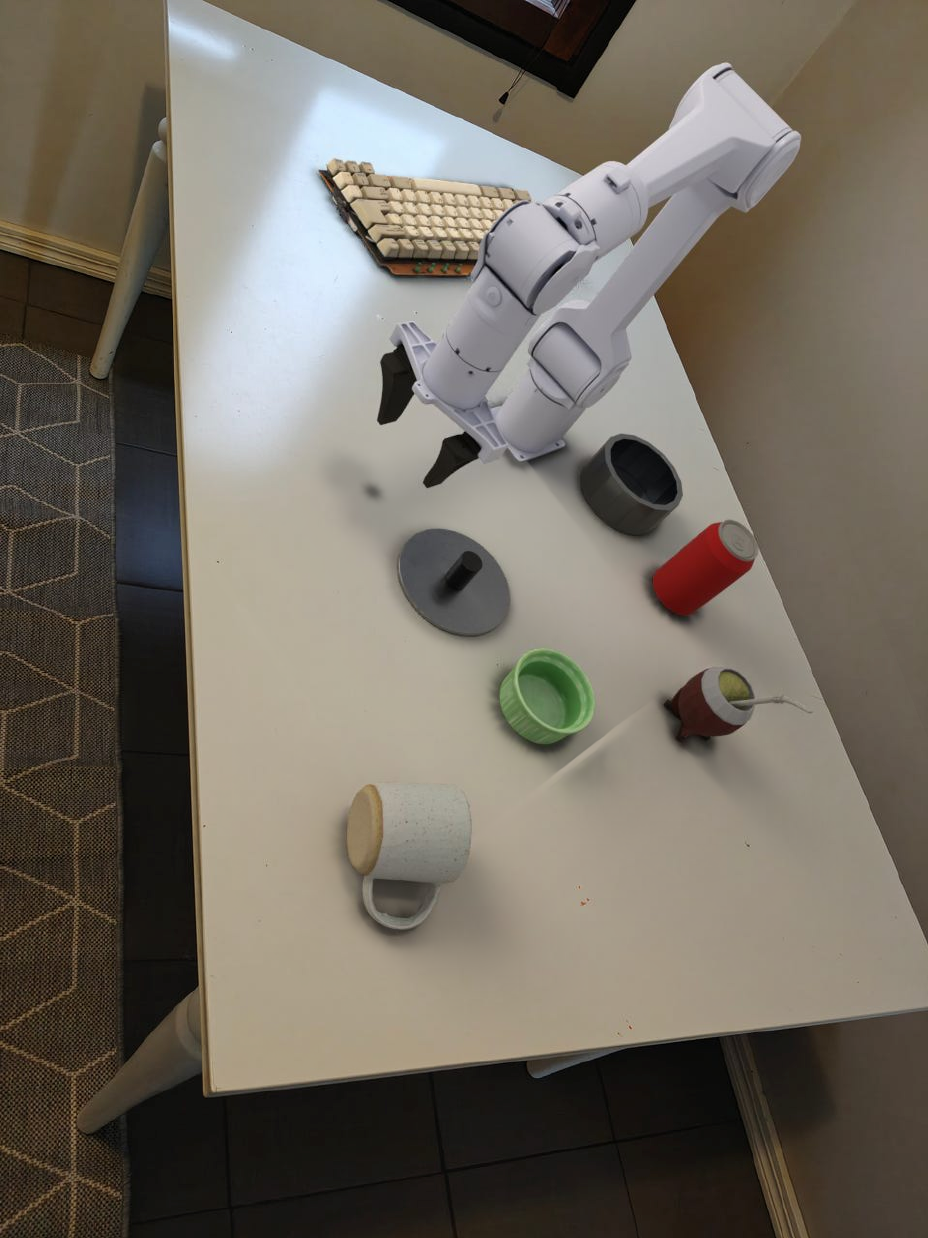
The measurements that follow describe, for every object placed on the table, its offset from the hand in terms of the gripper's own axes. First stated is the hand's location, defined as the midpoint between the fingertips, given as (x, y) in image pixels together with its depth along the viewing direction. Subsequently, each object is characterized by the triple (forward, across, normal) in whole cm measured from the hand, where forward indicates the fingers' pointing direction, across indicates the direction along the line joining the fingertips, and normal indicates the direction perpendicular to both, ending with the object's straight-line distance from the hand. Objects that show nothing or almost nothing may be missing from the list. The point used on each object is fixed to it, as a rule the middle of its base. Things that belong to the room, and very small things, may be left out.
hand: (408, 451), depth 80 cm
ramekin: (+10, +26, +2) cm, 28 cm away
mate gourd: (+10, +37, +19) cm, 43 cm away
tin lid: (+9, +11, +3) cm, 14 cm away
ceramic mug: (+10, +30, -20) cm, 37 cm away
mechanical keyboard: (+10, -38, +44) cm, 58 cm away
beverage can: (+10, +24, +31) cm, 40 cm away
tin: (+10, +9, +35) cm, 38 cm away
